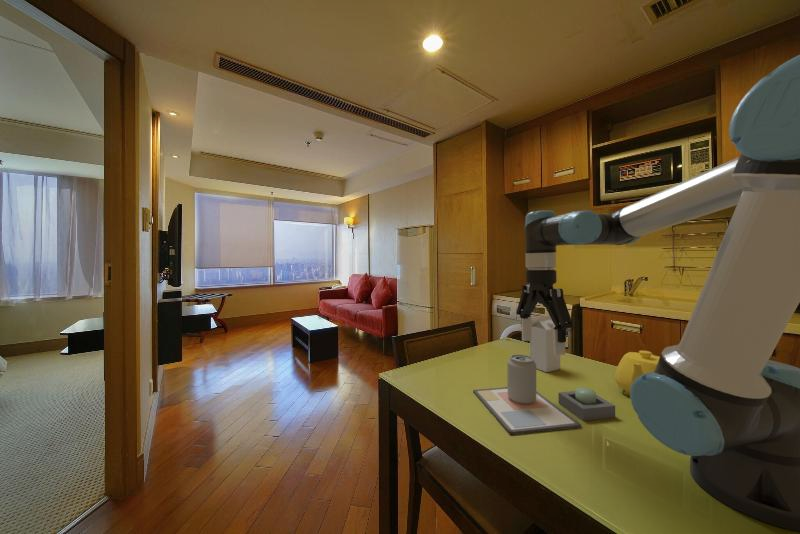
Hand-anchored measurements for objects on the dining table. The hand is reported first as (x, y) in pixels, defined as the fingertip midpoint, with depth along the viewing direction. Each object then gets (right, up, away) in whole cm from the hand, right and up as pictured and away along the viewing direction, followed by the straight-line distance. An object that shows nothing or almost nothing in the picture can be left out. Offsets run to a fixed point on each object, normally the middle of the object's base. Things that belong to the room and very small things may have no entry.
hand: (541, 347), depth 81 cm
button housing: (+10, -16, -2) cm, 19 cm away
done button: (+10, -14, -3) cm, 18 cm away
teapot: (+32, -16, +5) cm, 36 cm away
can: (-4, -16, +2) cm, 16 cm away
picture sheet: (-6, -16, -1) cm, 17 cm away
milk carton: (+14, -15, +27) cm, 34 cm away
